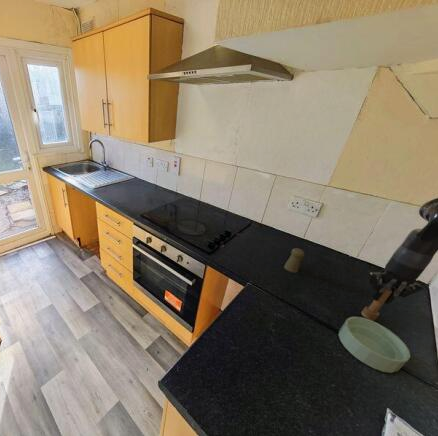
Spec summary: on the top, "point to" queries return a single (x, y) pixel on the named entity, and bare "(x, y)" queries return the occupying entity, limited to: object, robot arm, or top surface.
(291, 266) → the cork
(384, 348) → the bowl
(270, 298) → the top surface
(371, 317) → the muddler
